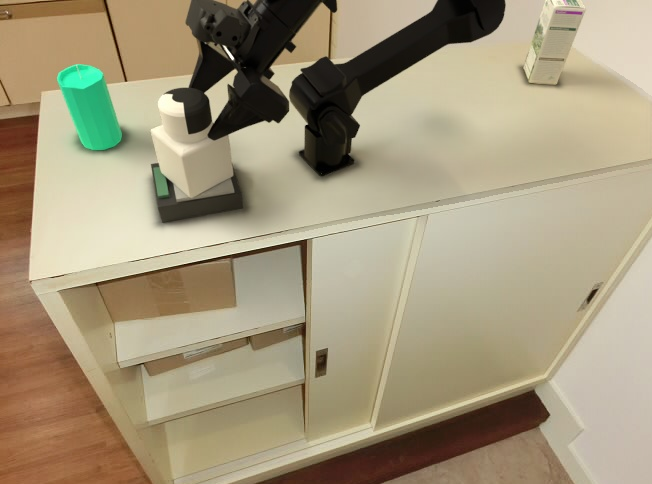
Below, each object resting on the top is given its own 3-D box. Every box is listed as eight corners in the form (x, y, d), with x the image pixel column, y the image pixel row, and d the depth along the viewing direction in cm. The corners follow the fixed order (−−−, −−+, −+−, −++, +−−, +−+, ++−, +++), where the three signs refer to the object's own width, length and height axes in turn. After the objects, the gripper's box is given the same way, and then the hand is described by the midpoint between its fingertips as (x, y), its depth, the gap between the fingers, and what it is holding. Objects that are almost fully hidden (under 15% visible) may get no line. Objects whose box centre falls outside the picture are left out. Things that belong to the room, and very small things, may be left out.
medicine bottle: (203, 152, 76) (190, 74, 66) (234, 176, 73) (225, 99, 63) (160, 173, 72) (139, 94, 63) (191, 199, 69) (174, 121, 60)
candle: (78, 130, 82) (51, 57, 73) (119, 123, 84) (96, 51, 75) (83, 153, 79) (54, 80, 70) (125, 146, 81) (102, 73, 71)
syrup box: (557, 85, 101) (589, 8, 90) (527, 83, 101) (555, 5, 89) (550, 69, 104) (580, -7, 93) (521, 67, 104) (547, -9, 93)
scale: (161, 222, 71) (156, 203, 68) (154, 179, 76) (149, 160, 74) (243, 208, 74) (241, 190, 71) (230, 167, 79) (228, 148, 76)
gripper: (199, -63, 60) (124, 46, 65) (256, 7, 50) (163, 131, 55) (267, -1, 69) (197, 91, 74) (328, 69, 59) (242, 171, 64)
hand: (199, 117), depth 66 cm, fingers open, 9 cm apart
